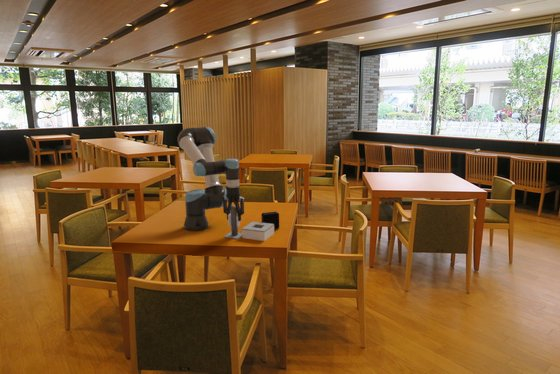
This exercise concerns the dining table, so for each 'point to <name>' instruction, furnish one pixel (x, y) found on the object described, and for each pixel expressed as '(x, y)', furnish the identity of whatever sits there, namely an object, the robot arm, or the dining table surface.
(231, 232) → the pad
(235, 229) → the stylus
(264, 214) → the electronic device
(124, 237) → the dining table surface
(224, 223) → the dining table surface
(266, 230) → the box
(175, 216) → the dining table surface
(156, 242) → the dining table surface
